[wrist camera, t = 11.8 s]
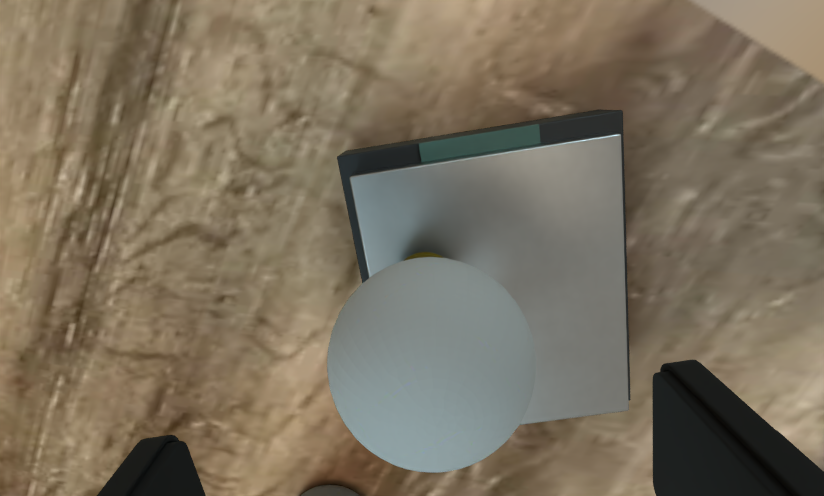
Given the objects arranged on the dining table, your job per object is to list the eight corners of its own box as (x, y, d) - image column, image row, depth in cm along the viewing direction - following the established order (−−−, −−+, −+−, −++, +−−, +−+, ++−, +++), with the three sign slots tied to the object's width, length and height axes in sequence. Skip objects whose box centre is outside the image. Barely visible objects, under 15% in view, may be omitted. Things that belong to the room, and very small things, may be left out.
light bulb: (521, 261, 20) (620, 403, 11) (437, 359, 21) (458, 563, 12) (410, 179, 19) (407, 254, 9) (330, 288, 20) (257, 449, 11)
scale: (344, 151, 22) (332, 158, 19) (599, 109, 22) (634, 110, 18) (394, 402, 26) (391, 446, 23) (610, 373, 26) (640, 413, 22)
